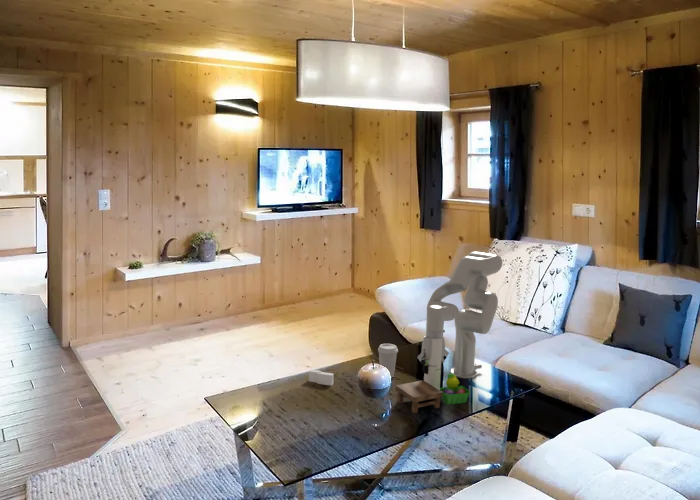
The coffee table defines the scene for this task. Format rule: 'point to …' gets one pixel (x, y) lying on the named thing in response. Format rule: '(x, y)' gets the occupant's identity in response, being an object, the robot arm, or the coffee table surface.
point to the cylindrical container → (434, 364)
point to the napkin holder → (321, 377)
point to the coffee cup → (388, 356)
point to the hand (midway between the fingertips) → (432, 371)
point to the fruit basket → (454, 391)
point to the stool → (419, 394)
